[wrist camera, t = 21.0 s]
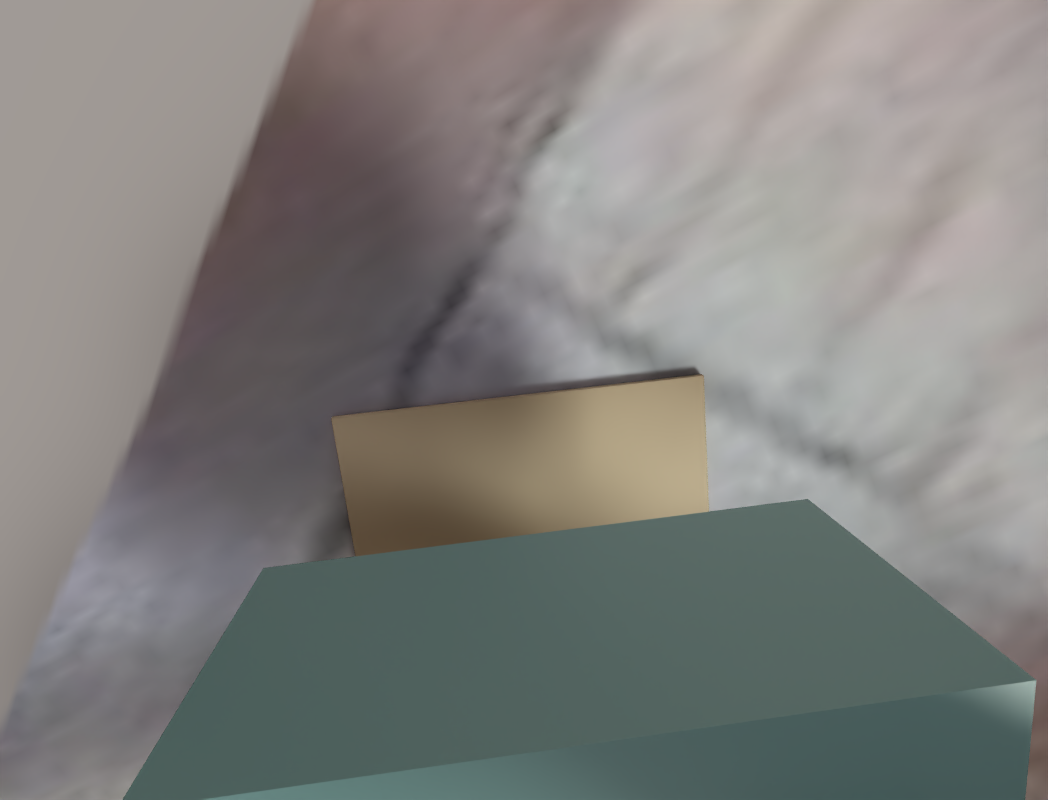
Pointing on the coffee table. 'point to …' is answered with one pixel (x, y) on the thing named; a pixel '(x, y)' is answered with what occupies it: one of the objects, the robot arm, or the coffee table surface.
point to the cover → (602, 675)
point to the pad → (523, 464)
